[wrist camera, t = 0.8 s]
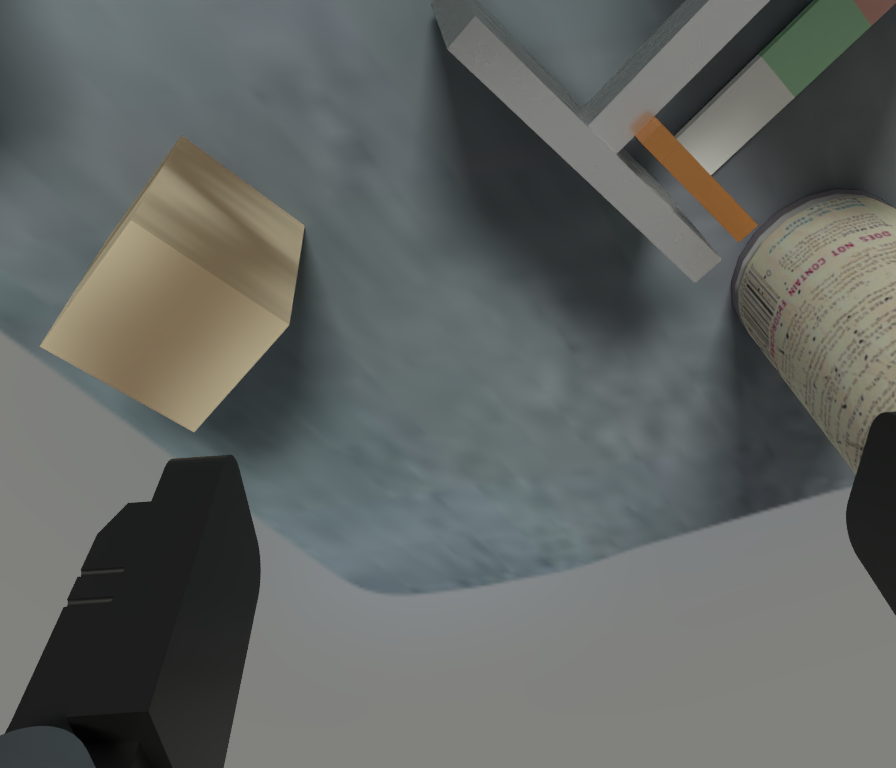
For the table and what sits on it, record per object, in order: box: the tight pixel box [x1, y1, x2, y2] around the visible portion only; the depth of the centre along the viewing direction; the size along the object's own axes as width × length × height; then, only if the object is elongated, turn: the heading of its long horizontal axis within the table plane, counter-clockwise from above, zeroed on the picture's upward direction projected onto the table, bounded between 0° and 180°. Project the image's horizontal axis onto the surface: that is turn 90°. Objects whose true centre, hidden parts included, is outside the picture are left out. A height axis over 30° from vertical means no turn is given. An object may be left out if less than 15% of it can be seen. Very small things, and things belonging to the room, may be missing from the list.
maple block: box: [40, 136, 305, 432], centre depth 26 cm, size 5×5×7 cm
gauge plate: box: [431, 0, 770, 283], centre depth 22 cm, size 10×10×6 cm
